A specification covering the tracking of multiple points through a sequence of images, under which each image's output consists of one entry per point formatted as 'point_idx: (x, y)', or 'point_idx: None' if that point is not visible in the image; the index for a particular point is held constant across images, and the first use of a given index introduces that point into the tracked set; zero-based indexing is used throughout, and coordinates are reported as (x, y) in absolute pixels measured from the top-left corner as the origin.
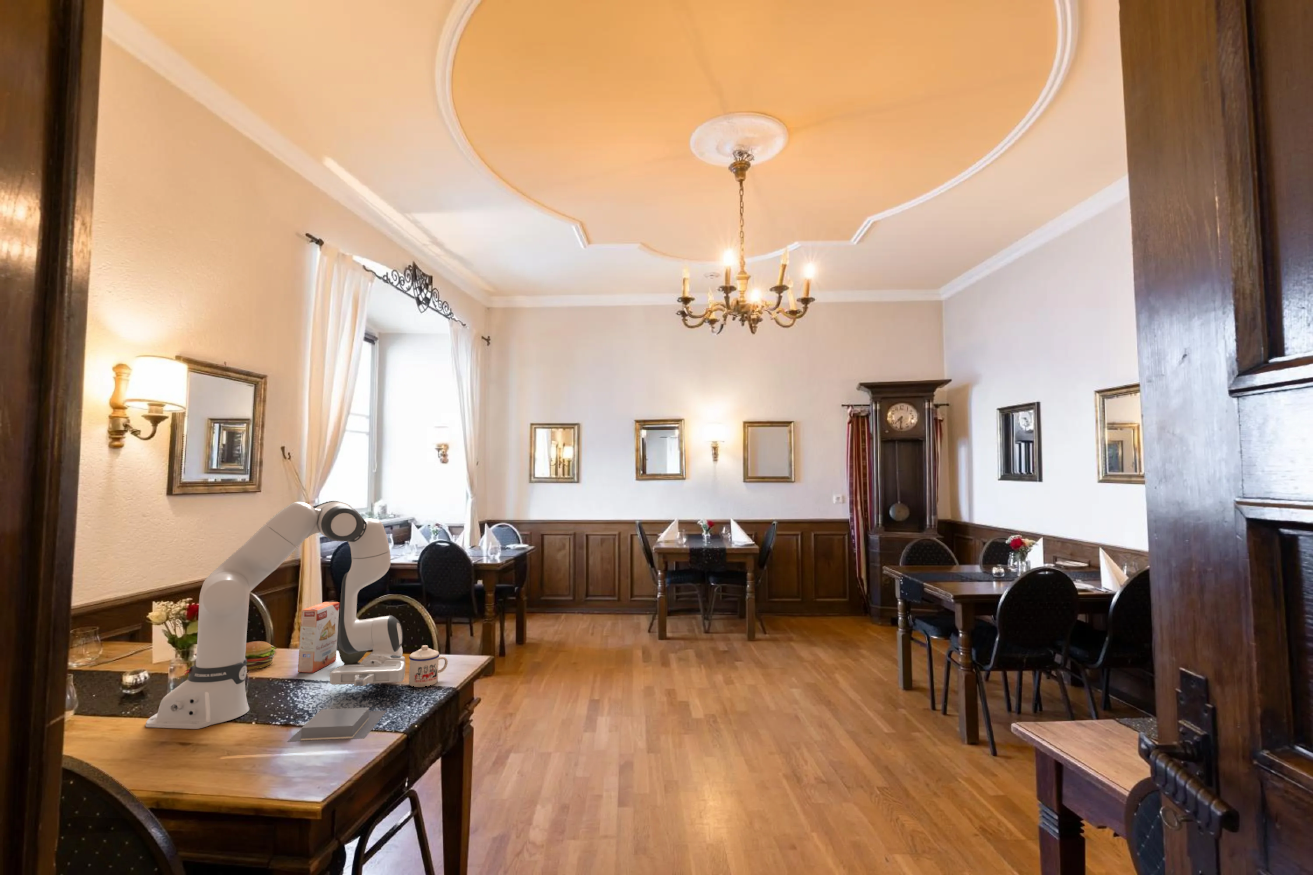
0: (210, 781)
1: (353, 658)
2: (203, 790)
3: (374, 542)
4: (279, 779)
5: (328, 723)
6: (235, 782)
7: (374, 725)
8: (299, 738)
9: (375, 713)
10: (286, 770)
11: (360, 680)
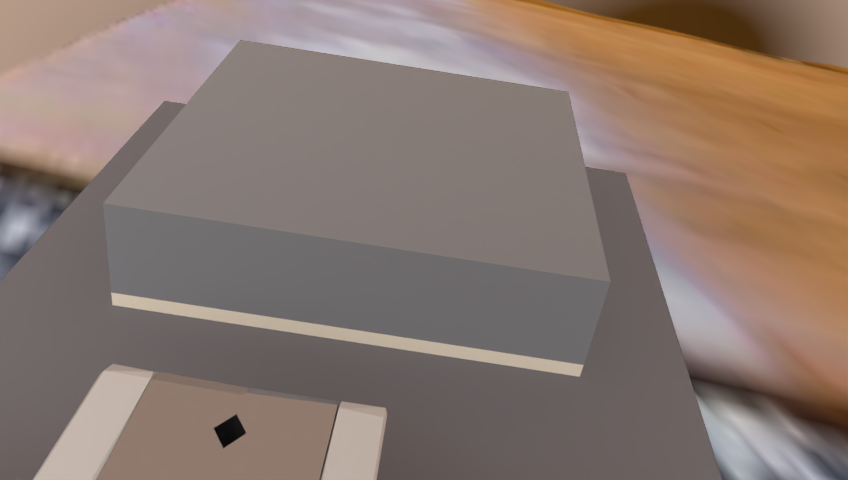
0: (707, 65)
1: None
2: (680, 42)
3: None
4: (467, 23)
5: (413, 89)
6: (611, 44)
7: (77, 201)
8: None
9: (14, 414)
10: (472, 47)
11: (227, 384)
